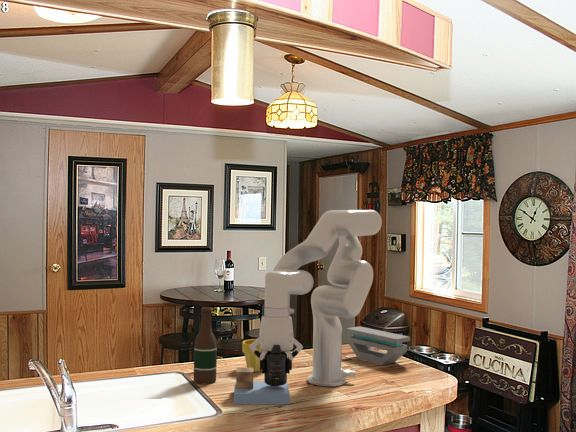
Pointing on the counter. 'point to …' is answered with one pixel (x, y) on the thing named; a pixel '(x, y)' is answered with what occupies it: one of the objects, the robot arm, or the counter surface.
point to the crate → (244, 378)
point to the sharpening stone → (376, 345)
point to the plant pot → (251, 355)
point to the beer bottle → (205, 351)
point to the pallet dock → (262, 394)
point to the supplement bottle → (275, 367)
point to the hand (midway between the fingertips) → (275, 372)
